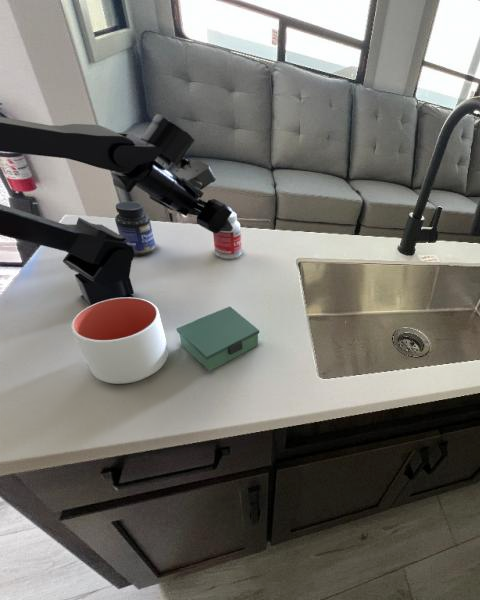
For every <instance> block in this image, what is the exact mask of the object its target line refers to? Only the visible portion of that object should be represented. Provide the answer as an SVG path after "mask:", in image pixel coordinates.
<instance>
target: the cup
mask: <svg viewBox="0 0 480 600" xmlns="http://www.w3.org/2000/svg"><path fill="white" fill-rule="evenodd" d="M70 328H71V329H70V330H71V332H72V334H73V337H74V338H75V340H76V342H77V344H78V347H79V348H80V351H81V353H82V355H83V357H84V359H85V361H86V363H87V365H88V368H89V370H90V372H91V374H92V375H93V376H94V377H95V378H96V379H98V380H100V381H102V382H104V383H107V384H115V385H121V384H122V385H123V384H124V385H125V384H130V383H131V384H132V383H135V382H139V381H142V380H144V379H147V378H148V377H150V376H152V375H154V374H155V373H157V372H158V371H159V370H160V369H161V368H162V367H163V366H164V364H166V361H167V360H168V356H169V347H168V344H167V343H168V342H167V339H166V335H165V330H164V327H163V323H162V319H161V315H160V311H159V308H158V307H157V306H156V304H154V303H152V302H151V301H149V300H147V299H143V298H140V297H135V298H130V297H127V298H114V299H109V300H105V301H101V302H98V303H96V304H93V305H91V306H87V307H85V308H84V309H82V310H81V311H80V312H78V313H77V314H76V316H74V318H73V320H72V322H71V325H70Z"/></svg>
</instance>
